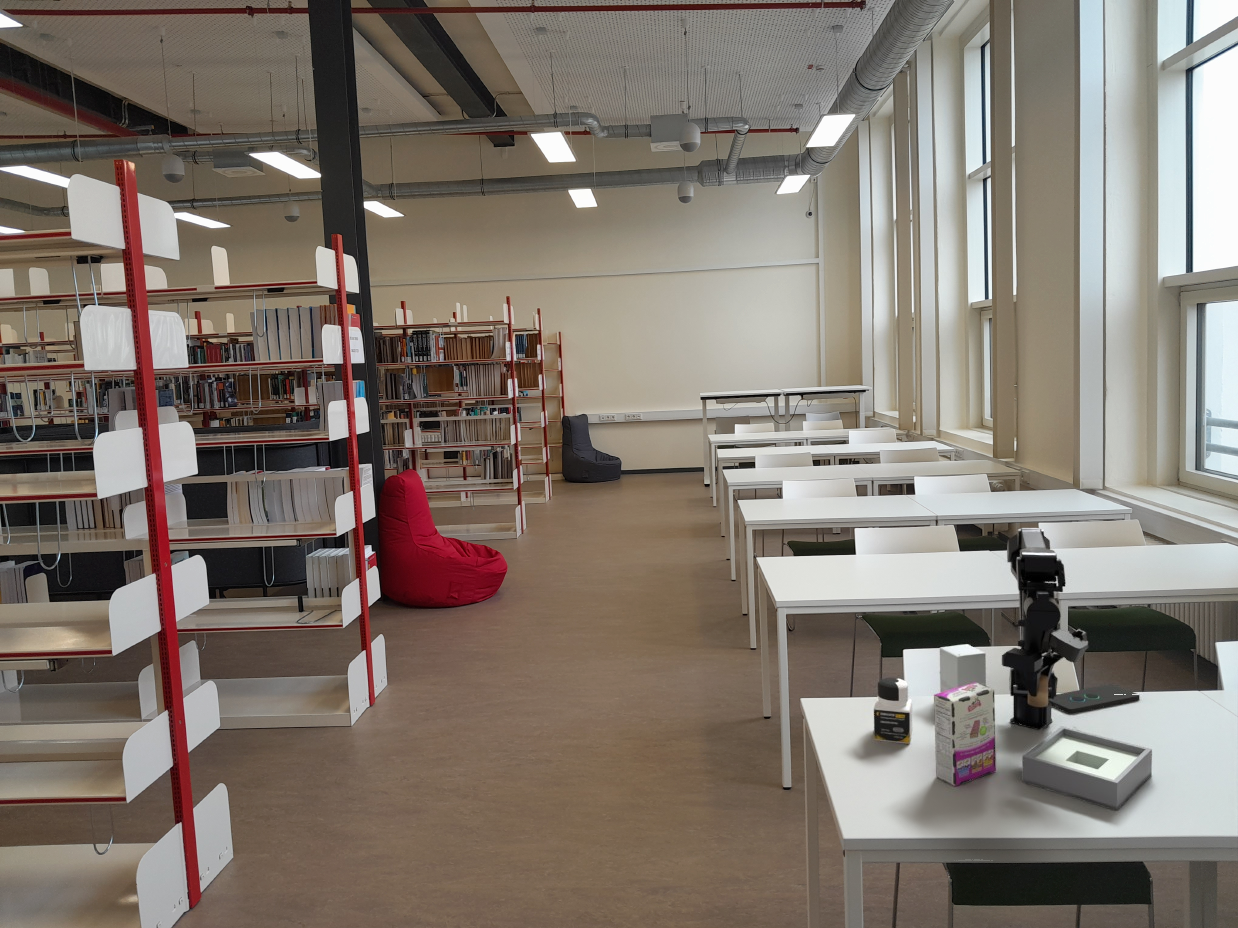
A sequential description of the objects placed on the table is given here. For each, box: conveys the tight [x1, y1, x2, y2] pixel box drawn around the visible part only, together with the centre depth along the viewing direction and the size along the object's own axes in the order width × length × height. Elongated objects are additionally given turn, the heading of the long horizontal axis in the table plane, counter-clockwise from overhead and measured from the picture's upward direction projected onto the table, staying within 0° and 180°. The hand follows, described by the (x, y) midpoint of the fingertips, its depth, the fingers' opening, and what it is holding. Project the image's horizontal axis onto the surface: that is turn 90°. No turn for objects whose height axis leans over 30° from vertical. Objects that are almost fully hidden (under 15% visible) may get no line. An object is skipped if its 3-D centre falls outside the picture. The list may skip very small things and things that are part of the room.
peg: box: [1028, 674, 1048, 707], centre depth 174 cm, size 4×4×6 cm
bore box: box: [1021, 726, 1153, 811], centre depth 164 cm, size 16×18×5 cm
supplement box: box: [939, 643, 987, 693], centre depth 201 cm, size 7×7×13 cm
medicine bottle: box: [873, 677, 913, 745], centre depth 186 cm, size 7×7×12 cm
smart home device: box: [1049, 683, 1140, 715], centre depth 200 cm, size 8×2×20 cm
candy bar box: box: [933, 682, 997, 787], centre depth 167 cm, size 11×5×16 cm, turn 117°
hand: (1037, 693), depth 174 cm, fingers closed on peg, 4 cm apart
